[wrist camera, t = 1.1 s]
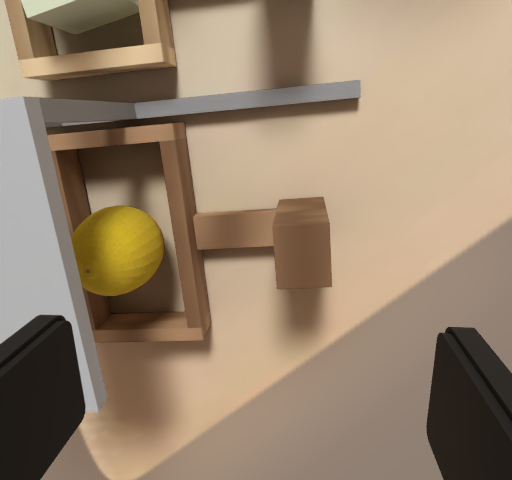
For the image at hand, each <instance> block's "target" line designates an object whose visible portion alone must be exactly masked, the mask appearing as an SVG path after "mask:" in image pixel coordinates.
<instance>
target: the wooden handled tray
mask: <svg viewBox="0 0 512 480" xmlns="http://www.w3.org/2000/svg"><path fill="white" fill-rule="evenodd" d="M47 136H48V141H49V145H50V149H51V154H52V158H53V162H54V167H55V171H56V175H57V180H58V184H59V189H60V193H61V197H62V202H63V206H64V210H65V215H66V219H67V223H68V228H69V232H70V236H72V235H73V233H74V232H75V230H76V228H77V227H78V226H79V225H80V224H81V223H82V222H83V221H84V220H85V219H86V218H87V217H89V216H90V210H89V206H88V201H87V196H86V191H85V187H84V182H83V177H82V173H81V168H80V163H79V158H78V154H77V149H79V148H91V147H102V146H113V145H124V144H136V143H147V142H158V141H159V144H160V150H161V157H162V163H163V170H164V176H165V183H166V189H167V196H168V202H169V209H170V215H171V222H172V228H173V235H174V241H175V248H176V254H177V261H178V267H179V274H180V280H181V287H182V293H183V300H184V306H185V312H159V313H127V314H111V310H110V305H109V300H108V296H103V295H99V294H95V293H92V292H90V291H88V290H86V289H85V288H83V287H82V289H83V293H84V297H85V302H86V306H87V311H88V315H89V319H90V324H91V328H92V332H93V337H94V341H95V343H99V342H145V341H192V340H204V338H205V335H206V333H207V331H208V328H209V326H210V324H211V318H210V311H209V303H208V296H207V289H206V281H205V274H204V266H203V259H202V252H201V250H204V249H223V248H242V247H262V246H274V256H275V269H276V281H277V289H293V288H320V287H332V273H331V248H330V223H329V219H328V215H327V210H326V206H325V202H324V198H323V197H315V198H299V199H284V200H279V203H278V207H277V209H261V210H245V211H230V212H214V213H198V214H196V207H195V200H194V192H193V185H192V177H191V170H190V163H189V155H188V148H187V140H186V133H185V125H184V122H182V123H170V124H159V125H149V126H138V127H128V128H117V129H106V130H96V131H85V132H75V133H64V134H53V135H47Z"/></svg>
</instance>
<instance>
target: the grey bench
mask: <svg viewBox="0 0 512 480" xmlns="http://www.w3.org/2000/svg"><path fill="white" fill-rule="evenodd" d="M359 97H360V80H354V81H345V82H335V83H325V84H315V85H306V86H296V87H286V88H276V89H266V90H257V91H247V92H237V93H227V94H218V95H208V96H198V97H188V98H178V99H169V100H159V101H149V102H139V103H125V102H108V101H90V100H73V99H56V98H39V97H15V98H6V99H0V344H1V343H2V342H4V341H5V340H6V339H7V338H9V337H10V336H11V335H13V334H14V333H15V332H17V331H18V330H19V329H21V328H22V327H23V326H24V325H26V324H27V323H28V322H30V321H31V320H32V319H34V318H35V317H36V316H38V315H62V316H64V317H65V319H66V321H69V322H70V323H71V325H72V330H73V335H74V341H75V347H76V353H77V359H78V365H79V370H80V376H81V382H82V388H83V394H84V400H85V406H86V409H85V412H99V411H100V409H101V408H102V406H103V405H104V404H105V402H106V401H107V399H108V398H107V393H106V389H105V385H104V380H103V376H102V372H101V367H100V363H99V358H98V354H97V350H96V345H95V341H94V337H93V332H92V328H91V324H90V319H89V315H88V311H87V306H86V302H85V297H84V293H83V289H82V284H81V280H80V276H79V271H78V267H77V263H76V258H75V254H74V250H73V245H72V241H71V236H70V232H69V228H68V223H67V219H66V215H65V210H64V206H63V202H62V197H61V193H60V189H59V184H58V180H57V175H56V171H55V167H54V162H53V158H52V154H51V149H50V145H49V141H48V136H47V132H46V128H50V127H61V126H71V125H81V124H92V123H102V122H112V121H123V120H133V119H143V118H154V117H164V116H174V115H185V114H195V113H205V112H216V111H226V110H236V109H247V108H257V107H267V106H278V105H288V104H298V103H309V102H319V101H329V100H340V99H350V98H359Z"/></svg>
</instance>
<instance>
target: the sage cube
mask: <svg viewBox="0 0 512 480" xmlns="http://www.w3.org/2000/svg"><path fill="white" fill-rule="evenodd" d="M21 2H22V5H23V8H24V10H25V13H26V16H27V18H29V19H32V20H35V21H37V22H40V23H43V24H46V25H49V26H52V27H55V28H58V29H61V30H63V31H66V32H69V33H72V34H75V35H76V34H79V33H82V32H85V31H88V30H91V29H94V28H96V27H99V26H102V25H105V24H108V23H111V22H114V21H117V20H119V19H122V18H125V17H128V16H131V15H134V14H137V13H139V7H138V0H21Z"/></svg>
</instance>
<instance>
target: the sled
mask: <svg viewBox="0 0 512 480" xmlns="http://www.w3.org/2000/svg"><path fill="white" fill-rule="evenodd" d="M5 4H6V8H7V12H8V17H9V21H10V25H11V29H12V33H13V38H14V42H15V46H16V50H17V55H18V59H19V63H20V67H21V71H22V76H23V78H30V79H38V80H46V81H50V80H59V79H68V78H77V77H86V76H95V75H104V74H112V73H121V72H130V71H139V70H148V69H157V68H165V67H174V66H176V59H175V51H174V44H173V36H172V29H171V22H170V14H169V7H168V0H138V7H139V13H140V20H141V27H142V33H143V40H144V45H139V46H130V47H122V48H114V49H106V50H98V51H89V52H81V53H73V54H65V55H57V54H56V50H55V45H54V40H53V35H52V31H51V26H49V25H46V24H43V23H40V22H37V21H35V20H32V19H29V18H27V16H26V13H25V10H24V8H23V5H22V2H21V0H5Z"/></svg>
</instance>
